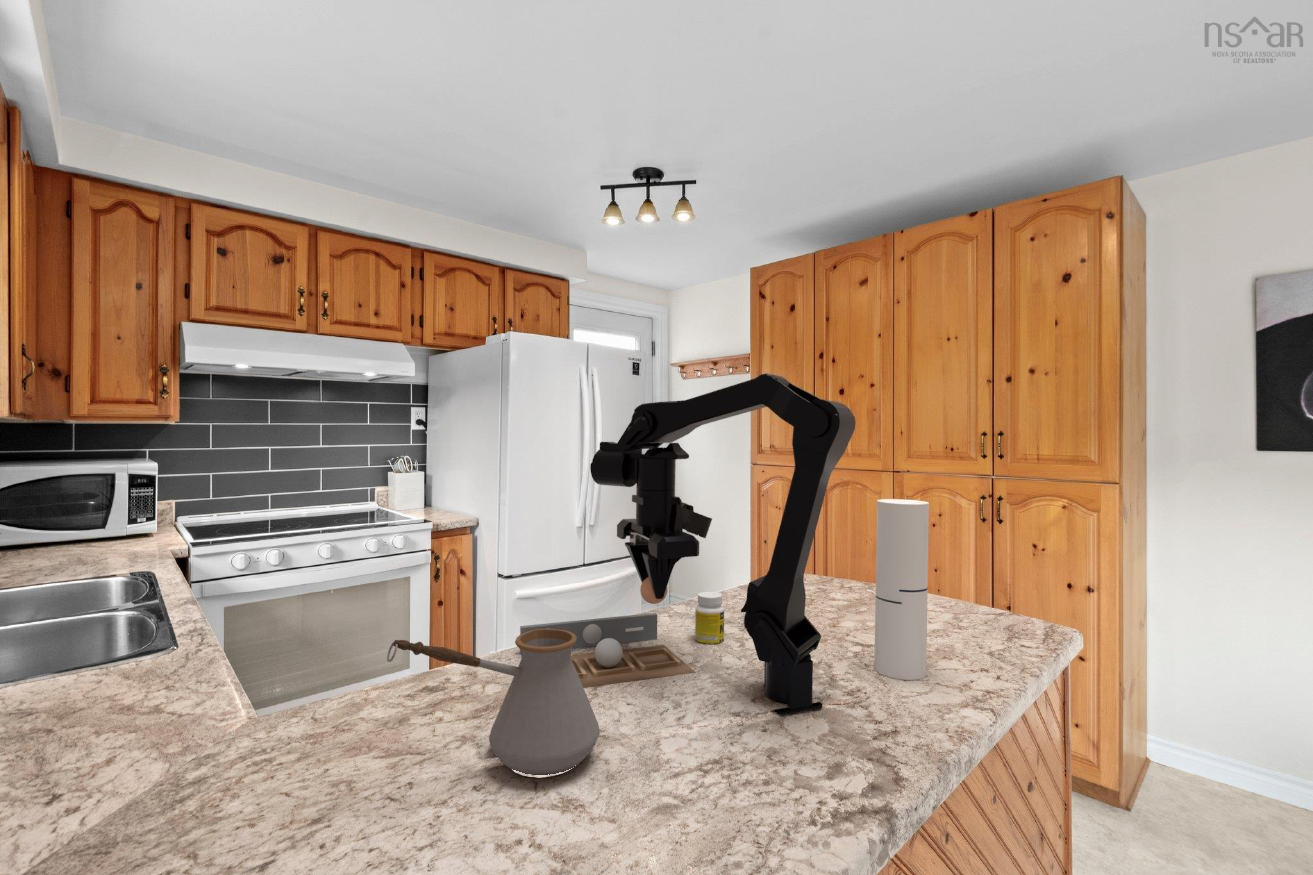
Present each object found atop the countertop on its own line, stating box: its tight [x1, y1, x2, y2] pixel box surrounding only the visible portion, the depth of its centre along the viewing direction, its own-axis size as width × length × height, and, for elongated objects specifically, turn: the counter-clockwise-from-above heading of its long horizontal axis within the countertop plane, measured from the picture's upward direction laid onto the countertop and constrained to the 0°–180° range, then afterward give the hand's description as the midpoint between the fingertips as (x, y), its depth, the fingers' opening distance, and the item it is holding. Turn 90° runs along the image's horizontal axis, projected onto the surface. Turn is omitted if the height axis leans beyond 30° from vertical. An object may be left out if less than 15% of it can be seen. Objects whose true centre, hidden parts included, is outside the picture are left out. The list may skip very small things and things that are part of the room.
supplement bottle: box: [694, 591, 725, 646], centre depth 102 cm, size 5×5×8 cm
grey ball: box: [594, 638, 623, 668], centre depth 90 cm, size 4×4×4 cm
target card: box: [519, 612, 658, 655], centre depth 99 cm, size 1×22×5 cm, turn 112°
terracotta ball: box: [639, 577, 668, 605], centre depth 93 cm, size 4×4×4 cm
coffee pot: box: [386, 629, 600, 775], centre depth 64 cm, size 21×12×15 cm, turn 120°
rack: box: [570, 644, 697, 689], centre depth 90 cm, size 12×22×2 cm, turn 111°
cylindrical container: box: [874, 498, 930, 681], centre depth 93 cm, size 7×7×25 cm
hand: (654, 594), depth 93 cm, fingers closed on terracotta ball, 4 cm apart
